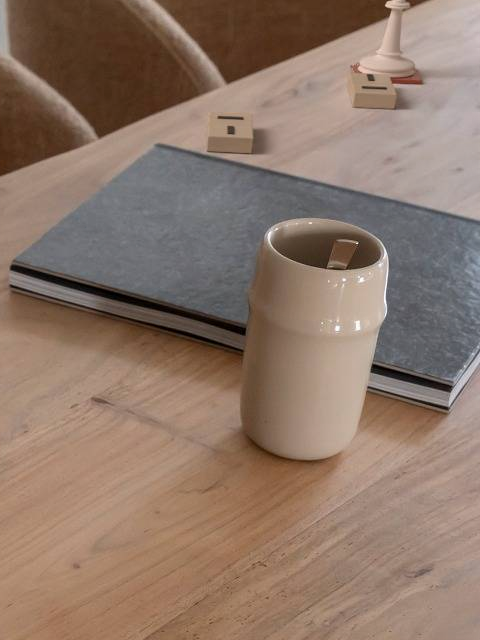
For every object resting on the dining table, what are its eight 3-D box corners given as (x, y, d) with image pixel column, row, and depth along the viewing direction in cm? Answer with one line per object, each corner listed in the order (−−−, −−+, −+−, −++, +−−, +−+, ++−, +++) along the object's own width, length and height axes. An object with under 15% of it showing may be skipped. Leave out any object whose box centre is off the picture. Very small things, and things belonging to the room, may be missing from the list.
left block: (249, 128, 118) (252, 112, 117) (251, 153, 112) (253, 136, 111) (206, 126, 118) (208, 110, 118) (206, 151, 113) (208, 134, 112)
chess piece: (371, 78, 130) (393, -43, 124) (348, 65, 134) (368, -53, 128) (424, 76, 130) (447, -45, 125) (399, 63, 134) (421, -55, 129)
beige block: (386, 88, 128) (389, 72, 128) (394, 109, 123) (397, 93, 122) (346, 86, 129) (349, 71, 128) (352, 107, 123) (355, 91, 122)
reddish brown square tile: (413, 68, 134) (414, 65, 134) (420, 84, 129) (421, 80, 129) (350, 66, 135) (351, 62, 135) (355, 81, 130) (355, 77, 130)
